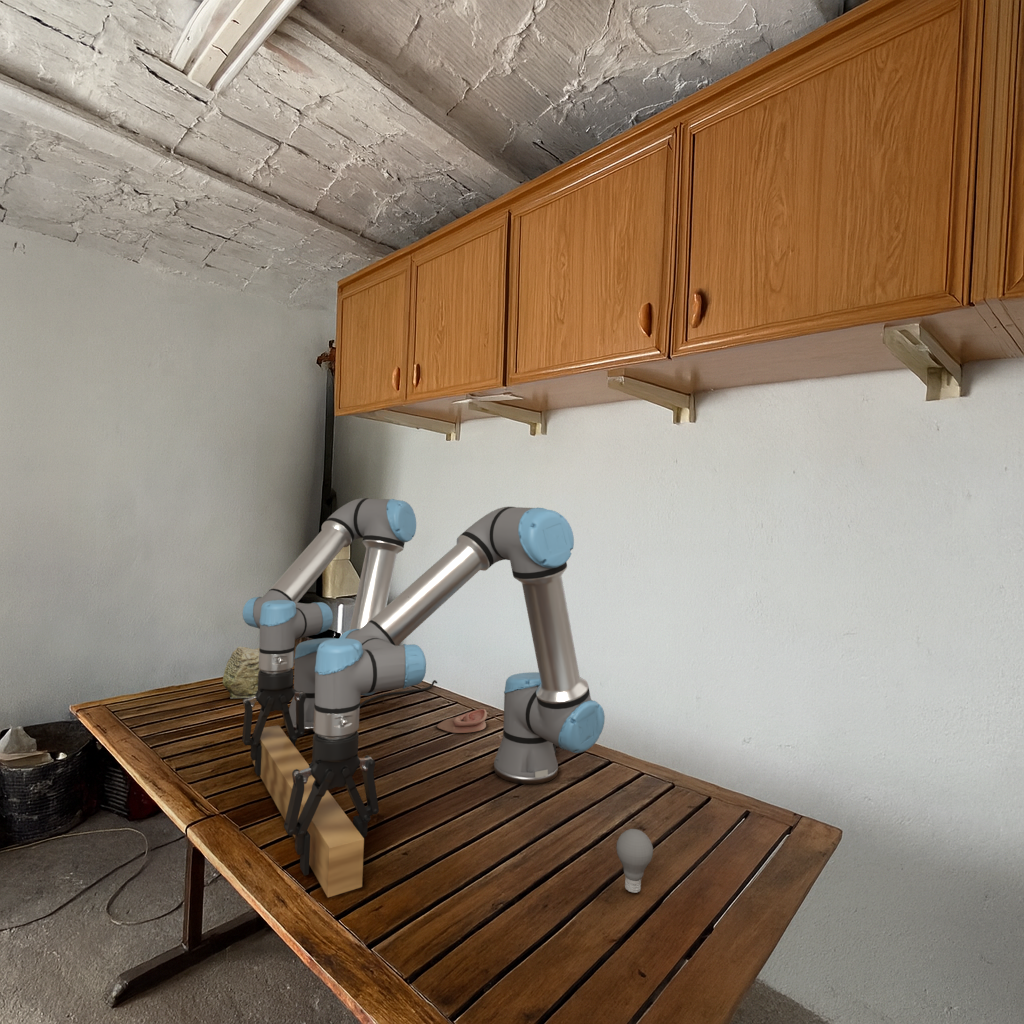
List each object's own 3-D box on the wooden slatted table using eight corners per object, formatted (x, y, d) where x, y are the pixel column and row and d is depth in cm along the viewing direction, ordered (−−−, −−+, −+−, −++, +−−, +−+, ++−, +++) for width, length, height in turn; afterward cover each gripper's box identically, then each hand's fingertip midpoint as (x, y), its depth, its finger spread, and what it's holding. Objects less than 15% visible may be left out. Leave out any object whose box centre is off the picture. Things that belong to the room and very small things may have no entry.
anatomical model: (433, 716, 174) (446, 703, 185) (433, 730, 174) (445, 716, 185) (480, 721, 171) (490, 708, 182) (479, 736, 171) (489, 722, 183)
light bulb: (610, 879, 108) (613, 822, 108) (644, 879, 109) (647, 822, 109) (619, 902, 102) (622, 840, 102) (655, 901, 103) (658, 840, 103)
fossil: (218, 695, 195) (220, 647, 195) (278, 685, 208) (279, 640, 207) (228, 703, 189) (230, 653, 188) (289, 692, 201) (290, 645, 201)
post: (252, 762, 149) (253, 728, 149) (277, 758, 152) (278, 725, 152) (327, 897, 101) (329, 847, 100) (362, 887, 104) (364, 838, 104)
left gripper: (234, 678, 136) (231, 785, 136) (322, 668, 146) (318, 768, 146) (228, 669, 142) (225, 772, 142) (313, 661, 152) (309, 756, 153)
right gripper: (277, 750, 99) (271, 894, 99) (402, 728, 111) (397, 857, 111) (266, 734, 105) (261, 869, 106) (386, 715, 117) (381, 837, 117)
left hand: (272, 770), depth 144 cm, fingers closed on post, 6 cm apart
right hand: (331, 863), depth 108 cm, fingers open, 8 cm apart
